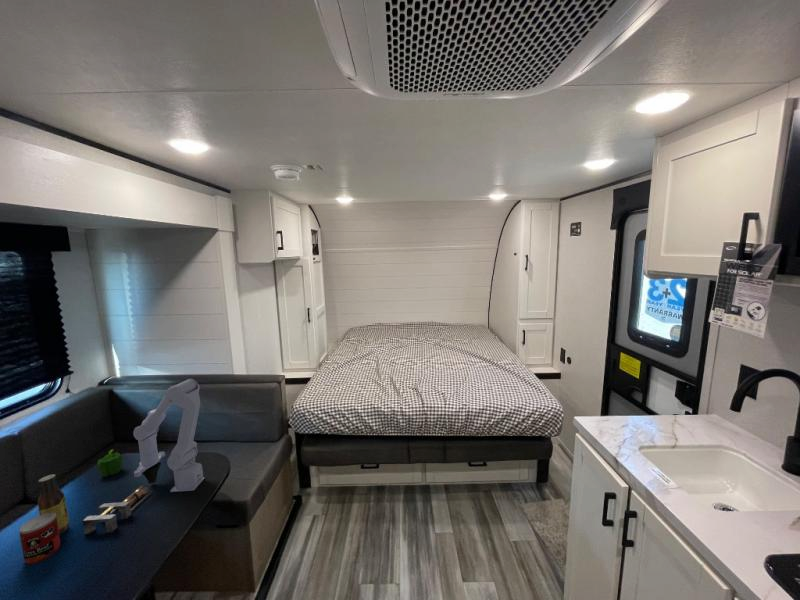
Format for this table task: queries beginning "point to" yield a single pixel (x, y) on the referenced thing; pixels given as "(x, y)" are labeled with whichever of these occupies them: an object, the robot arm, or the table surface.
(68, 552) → the table surface
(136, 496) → the tube
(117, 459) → the bell pepper
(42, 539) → the canned food
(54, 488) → the sauce bottle
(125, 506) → the metal clamp tool
